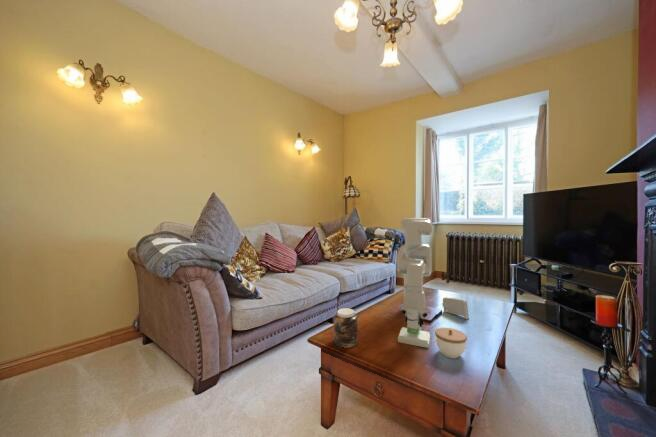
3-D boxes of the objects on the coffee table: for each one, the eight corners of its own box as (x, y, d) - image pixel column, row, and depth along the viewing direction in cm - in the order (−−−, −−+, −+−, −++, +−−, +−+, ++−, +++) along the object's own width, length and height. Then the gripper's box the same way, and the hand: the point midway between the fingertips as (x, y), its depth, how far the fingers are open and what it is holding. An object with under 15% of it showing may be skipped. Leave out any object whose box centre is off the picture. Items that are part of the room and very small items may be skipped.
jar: (333, 336, 132) (333, 306, 132) (356, 336, 132) (356, 307, 131) (333, 348, 120) (333, 316, 120) (358, 348, 120) (359, 316, 120)
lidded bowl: (451, 364, 107) (452, 338, 107) (428, 350, 119) (429, 326, 119) (473, 358, 112) (473, 332, 112) (449, 344, 124) (449, 321, 124)
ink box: (417, 335, 123) (417, 310, 123) (406, 332, 126) (406, 308, 126) (421, 328, 131) (421, 305, 130) (411, 326, 133) (411, 303, 133)
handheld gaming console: (446, 314, 166) (469, 318, 154) (443, 315, 165) (466, 319, 152) (444, 296, 168) (467, 299, 155) (441, 297, 166) (464, 300, 153)
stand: (401, 332, 136) (401, 326, 136) (430, 337, 131) (430, 331, 130) (397, 341, 126) (397, 335, 126) (428, 348, 120) (428, 341, 120)
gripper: (395, 288, 128) (395, 324, 128) (433, 292, 121) (432, 331, 121) (398, 284, 135) (397, 319, 135) (433, 288, 128) (433, 324, 128)
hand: (414, 324), depth 128 cm, fingers closed on ink box, 5 cm apart
